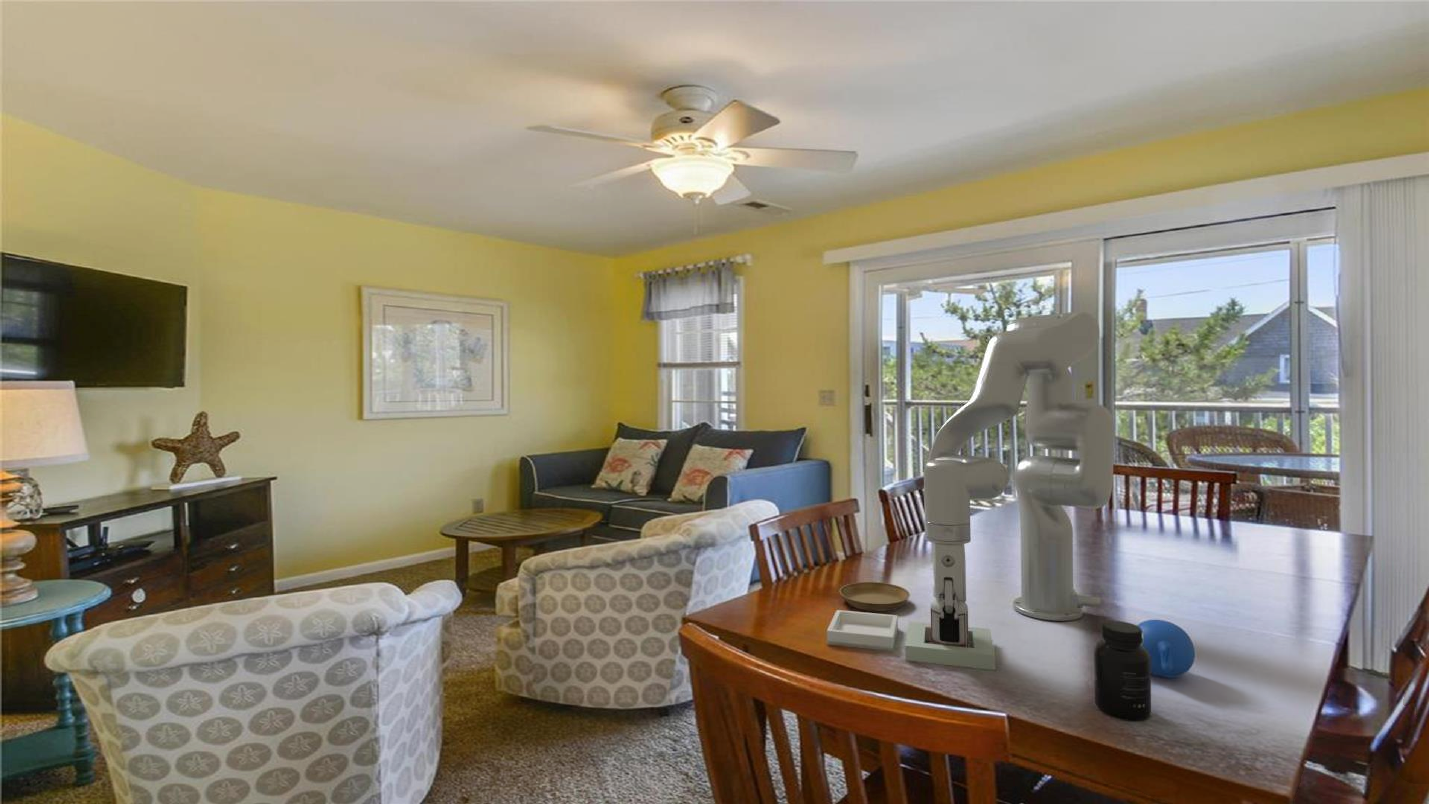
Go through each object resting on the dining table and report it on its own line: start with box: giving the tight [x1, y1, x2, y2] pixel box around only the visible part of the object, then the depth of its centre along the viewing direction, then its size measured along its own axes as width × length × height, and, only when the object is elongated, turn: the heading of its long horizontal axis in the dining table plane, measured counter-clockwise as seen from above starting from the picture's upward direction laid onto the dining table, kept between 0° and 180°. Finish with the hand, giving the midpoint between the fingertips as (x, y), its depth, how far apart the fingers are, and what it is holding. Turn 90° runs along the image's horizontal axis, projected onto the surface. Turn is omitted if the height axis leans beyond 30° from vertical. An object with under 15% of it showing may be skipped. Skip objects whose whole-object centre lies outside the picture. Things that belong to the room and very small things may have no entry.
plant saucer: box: [839, 581, 911, 612], centre depth 141 cm, size 15×15×3 cm
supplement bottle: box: [1093, 620, 1152, 722], centre depth 92 cm, size 7×7×12 cm
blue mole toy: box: [1136, 619, 1196, 678], centre depth 104 cm, size 12×12×8 cm
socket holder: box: [904, 621, 996, 671], centre depth 114 cm, size 14×12×2 cm
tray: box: [826, 609, 899, 652], centre depth 122 cm, size 12×12×2 cm
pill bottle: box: [930, 583, 969, 648], centre depth 114 cm, size 6×6×11 cm
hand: (949, 632), depth 114 cm, fingers closed on pill bottle, 6 cm apart
